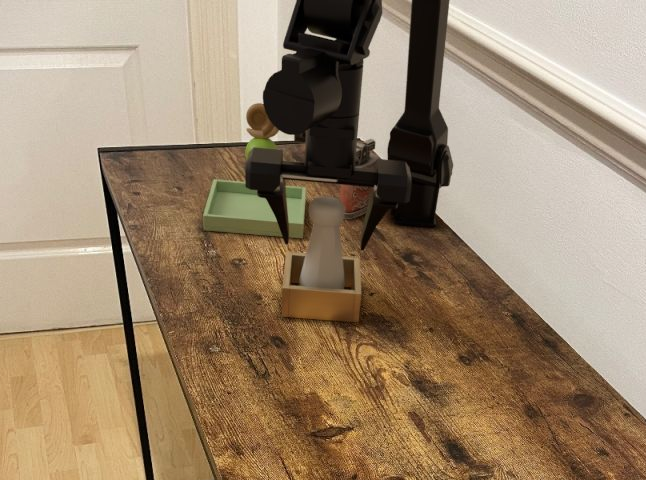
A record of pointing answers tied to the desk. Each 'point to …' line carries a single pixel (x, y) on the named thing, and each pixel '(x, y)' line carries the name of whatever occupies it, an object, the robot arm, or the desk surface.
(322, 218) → the salt shaker
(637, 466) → the desk surface
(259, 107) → the snail figurine
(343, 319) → the open brown box
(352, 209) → the lighter
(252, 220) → the tray
